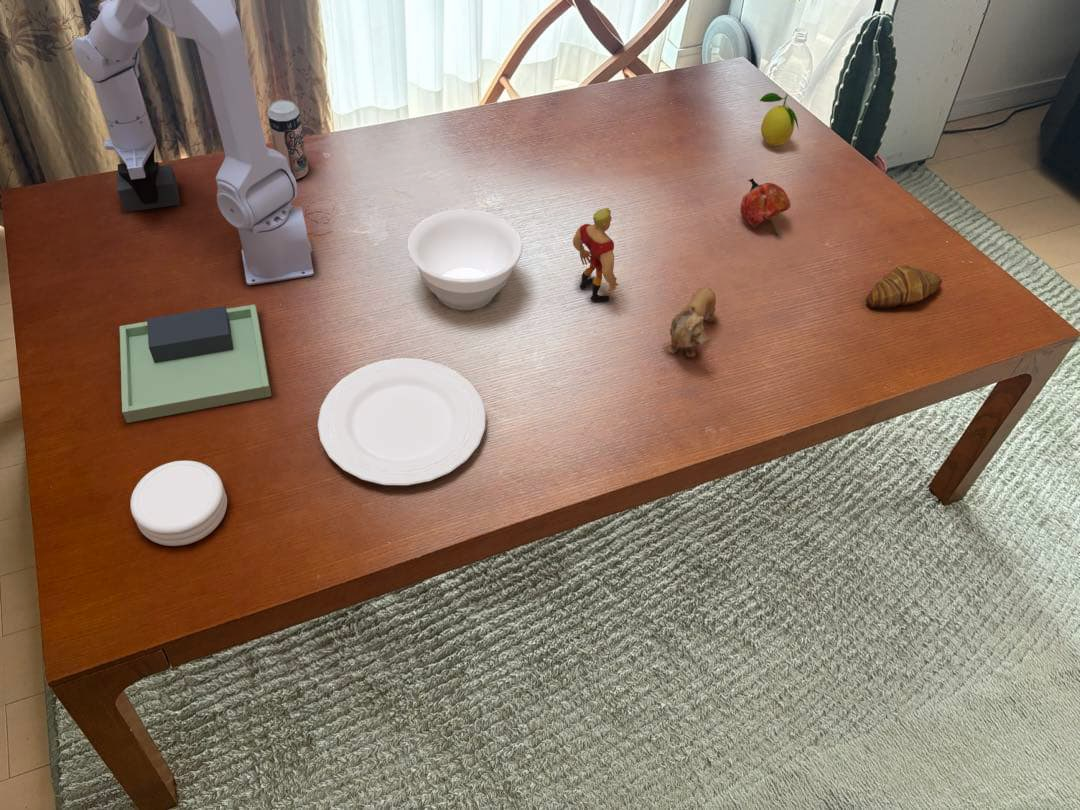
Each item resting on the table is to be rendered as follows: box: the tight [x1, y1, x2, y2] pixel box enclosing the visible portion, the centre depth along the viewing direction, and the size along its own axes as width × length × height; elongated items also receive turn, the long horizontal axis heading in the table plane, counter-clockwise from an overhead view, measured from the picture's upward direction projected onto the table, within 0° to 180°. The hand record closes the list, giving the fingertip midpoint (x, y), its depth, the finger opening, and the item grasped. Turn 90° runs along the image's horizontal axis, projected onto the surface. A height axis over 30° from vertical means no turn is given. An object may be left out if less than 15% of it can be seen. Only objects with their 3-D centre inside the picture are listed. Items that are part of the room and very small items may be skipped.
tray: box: [119, 304, 272, 424], centre depth 121 cm, size 18×16×2 cm
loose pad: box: [116, 164, 181, 213], centre depth 142 cm, size 8×5×4 cm, turn 107°
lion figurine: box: [667, 287, 717, 358], centre depth 127 cm, size 15×5×9 cm, turn 162°
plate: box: [317, 357, 487, 487], centre depth 116 cm, size 21×21×2 cm
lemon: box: [759, 92, 800, 147], centre depth 160 cm, size 7×6×10 cm
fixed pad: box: [146, 305, 233, 363], centre depth 122 cm, size 10×6×3 cm, turn 108°
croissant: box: [865, 265, 943, 309], centre depth 137 cm, size 14×7×5 cm, turn 115°
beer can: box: [267, 99, 309, 180], centre depth 146 cm, size 5×5×12 cm
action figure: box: [572, 207, 619, 303], centre depth 130 cm, size 10×4×15 cm, turn 31°
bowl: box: [406, 208, 524, 311], centre depth 131 cm, size 16×16×8 cm
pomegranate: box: [740, 178, 791, 237], centre depth 146 cm, size 7×7×10 cm
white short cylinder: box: [130, 460, 228, 547], centre depth 105 cm, size 10×10×4 cm
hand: (149, 191), depth 143 cm, fingers closed on loose pad, 5 cm apart
